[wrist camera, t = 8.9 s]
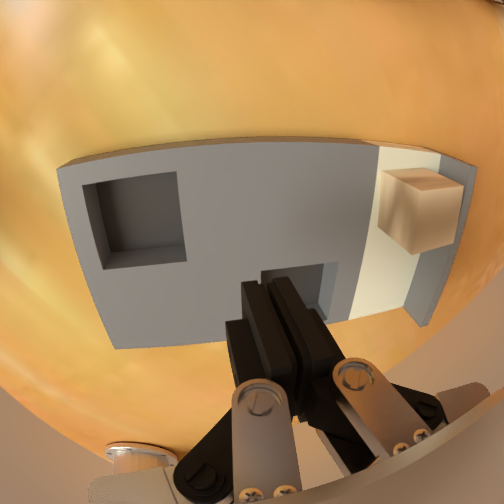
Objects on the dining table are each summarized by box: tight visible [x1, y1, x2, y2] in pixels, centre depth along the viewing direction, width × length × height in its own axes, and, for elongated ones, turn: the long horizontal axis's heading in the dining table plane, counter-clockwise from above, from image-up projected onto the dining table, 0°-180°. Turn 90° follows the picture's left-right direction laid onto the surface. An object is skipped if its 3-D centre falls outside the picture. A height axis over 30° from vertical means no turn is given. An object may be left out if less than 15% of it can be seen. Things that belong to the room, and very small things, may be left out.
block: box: [377, 167, 464, 255], centre depth 16 cm, size 4×4×4 cm
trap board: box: [56, 137, 477, 349], centre depth 18 cm, size 14×26×6 cm, turn 91°
